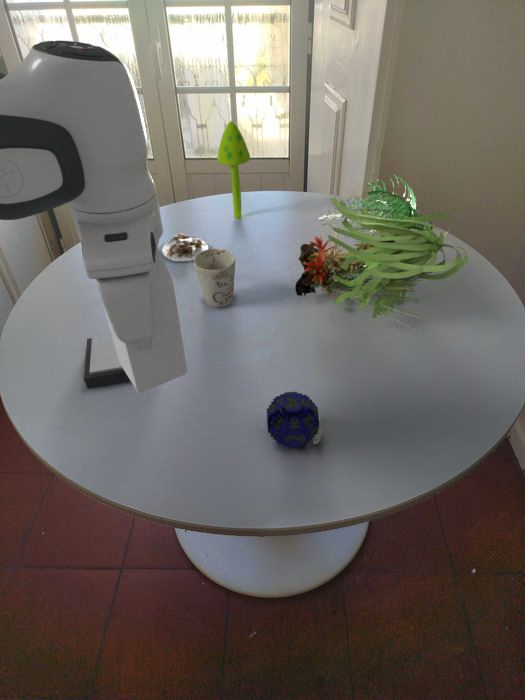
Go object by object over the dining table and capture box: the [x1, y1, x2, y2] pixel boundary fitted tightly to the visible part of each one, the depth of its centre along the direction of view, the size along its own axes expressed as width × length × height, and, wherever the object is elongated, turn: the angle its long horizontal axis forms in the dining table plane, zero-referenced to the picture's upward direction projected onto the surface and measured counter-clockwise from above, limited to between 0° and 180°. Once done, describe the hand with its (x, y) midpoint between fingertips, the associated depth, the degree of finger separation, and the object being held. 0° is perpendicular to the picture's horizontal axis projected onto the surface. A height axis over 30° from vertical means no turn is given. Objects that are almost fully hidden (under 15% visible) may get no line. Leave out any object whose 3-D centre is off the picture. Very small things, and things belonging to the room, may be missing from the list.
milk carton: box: [95, 245, 188, 394], centre depth 58 cm, size 7×7×19 cm
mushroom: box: [216, 120, 251, 220], centre depth 121 cm, size 8×8×25 cm
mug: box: [193, 248, 236, 309], centre depth 99 cm, size 8×13×10 cm, turn 16°
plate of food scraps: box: [161, 232, 210, 263], centre depth 116 cm, size 12×12×4 cm
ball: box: [266, 391, 322, 449], centre depth 71 cm, size 8×8×8 cm
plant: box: [294, 173, 469, 332], centre depth 91 cm, size 30×30×35 cm
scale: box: [83, 334, 131, 389], centre depth 86 cm, size 13×11×3 cm
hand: (144, 322), depth 59 cm, fingers closed on milk carton, 8 cm apart
